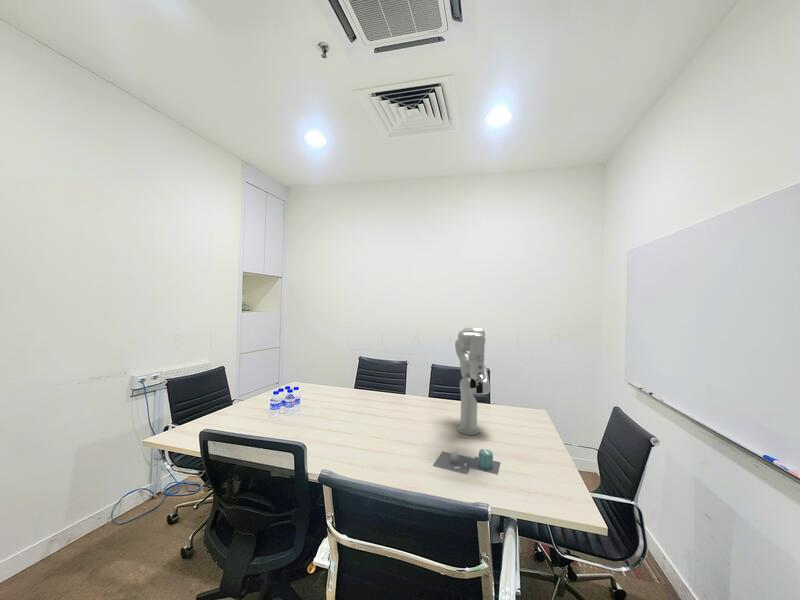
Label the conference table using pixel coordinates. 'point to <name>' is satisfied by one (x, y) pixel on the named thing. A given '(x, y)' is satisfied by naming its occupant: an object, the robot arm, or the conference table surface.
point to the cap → (485, 458)
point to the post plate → (450, 466)
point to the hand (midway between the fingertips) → (476, 390)
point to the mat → (491, 470)
